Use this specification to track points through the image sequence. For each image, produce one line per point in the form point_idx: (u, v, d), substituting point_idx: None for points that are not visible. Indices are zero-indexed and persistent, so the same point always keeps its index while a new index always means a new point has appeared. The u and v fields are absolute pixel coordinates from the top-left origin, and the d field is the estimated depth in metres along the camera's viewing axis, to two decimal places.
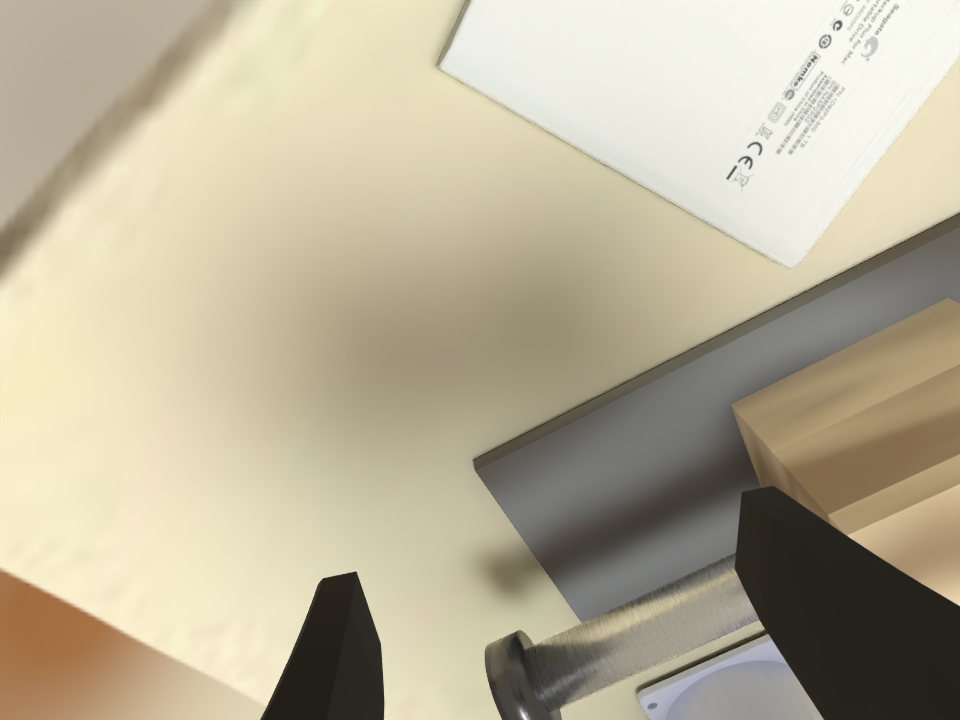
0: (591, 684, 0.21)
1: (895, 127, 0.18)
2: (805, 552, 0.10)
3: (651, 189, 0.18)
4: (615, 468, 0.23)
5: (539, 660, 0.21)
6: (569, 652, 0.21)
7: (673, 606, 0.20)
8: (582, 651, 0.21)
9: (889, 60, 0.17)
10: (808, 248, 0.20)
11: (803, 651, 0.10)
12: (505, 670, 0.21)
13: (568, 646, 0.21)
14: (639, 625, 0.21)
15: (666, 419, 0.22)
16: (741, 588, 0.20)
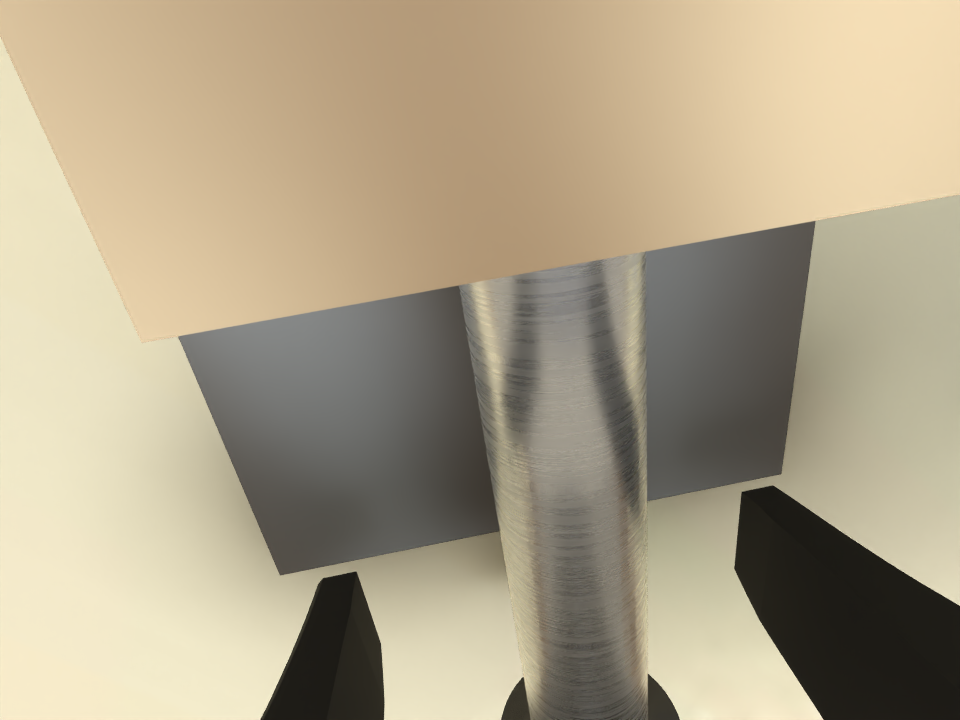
0: None
1: None
2: (805, 552, 0.10)
3: None
4: (356, 395, 0.12)
5: None
6: (532, 708, 0.11)
7: (508, 557, 0.09)
8: (533, 702, 0.11)
9: None
10: None
11: (802, 651, 0.10)
12: None
13: (527, 696, 0.11)
14: (520, 619, 0.10)
15: None
16: (505, 448, 0.08)
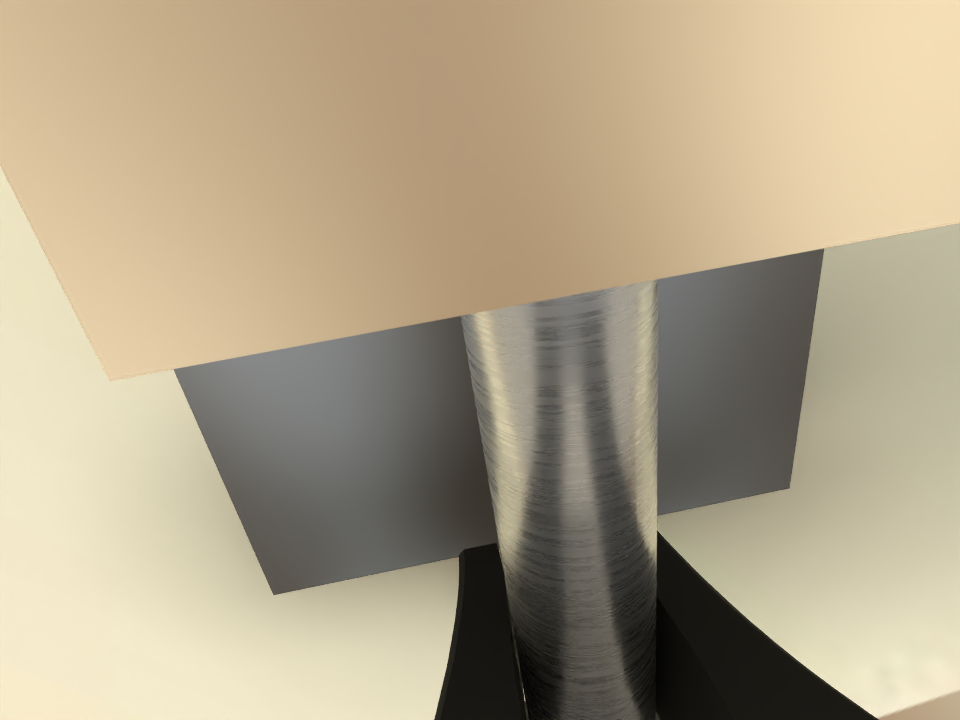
0: None
1: None
2: None
3: None
4: (352, 410, 0.12)
5: None
6: None
7: (510, 587, 0.09)
8: None
9: None
10: None
11: (656, 684, 0.10)
12: None
13: None
14: (522, 651, 0.09)
15: None
16: (508, 476, 0.07)
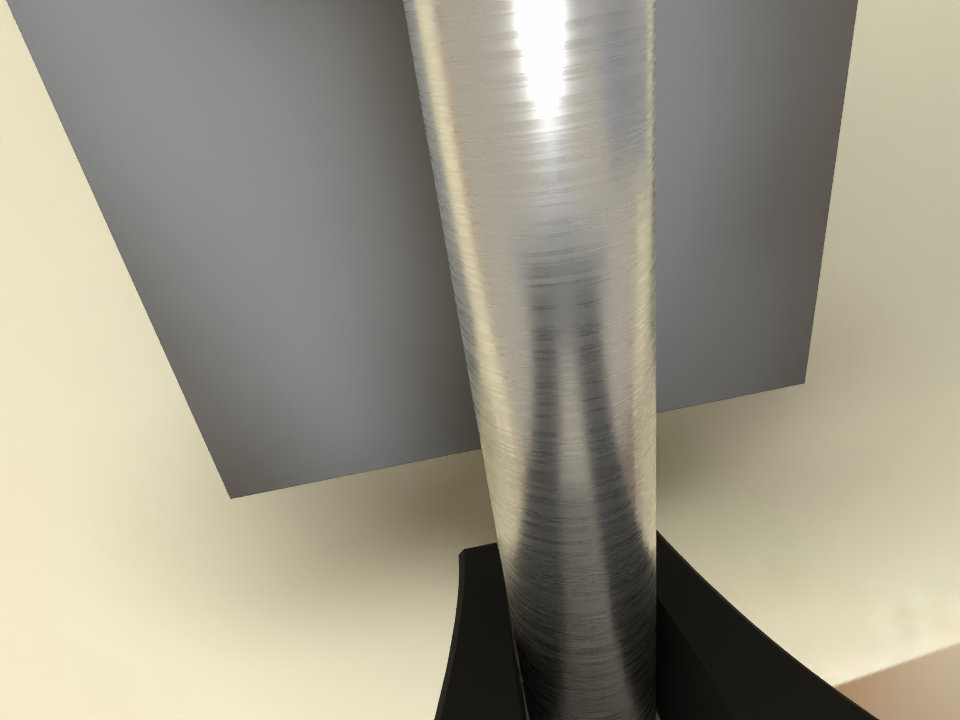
0: None
1: None
2: None
3: None
4: (310, 270, 0.11)
5: None
6: (532, 717, 0.10)
7: (504, 554, 0.08)
8: (533, 711, 0.10)
9: None
10: None
11: (656, 684, 0.10)
12: None
13: (527, 705, 0.10)
14: (517, 621, 0.09)
15: (198, 133, 0.09)
16: (499, 432, 0.07)
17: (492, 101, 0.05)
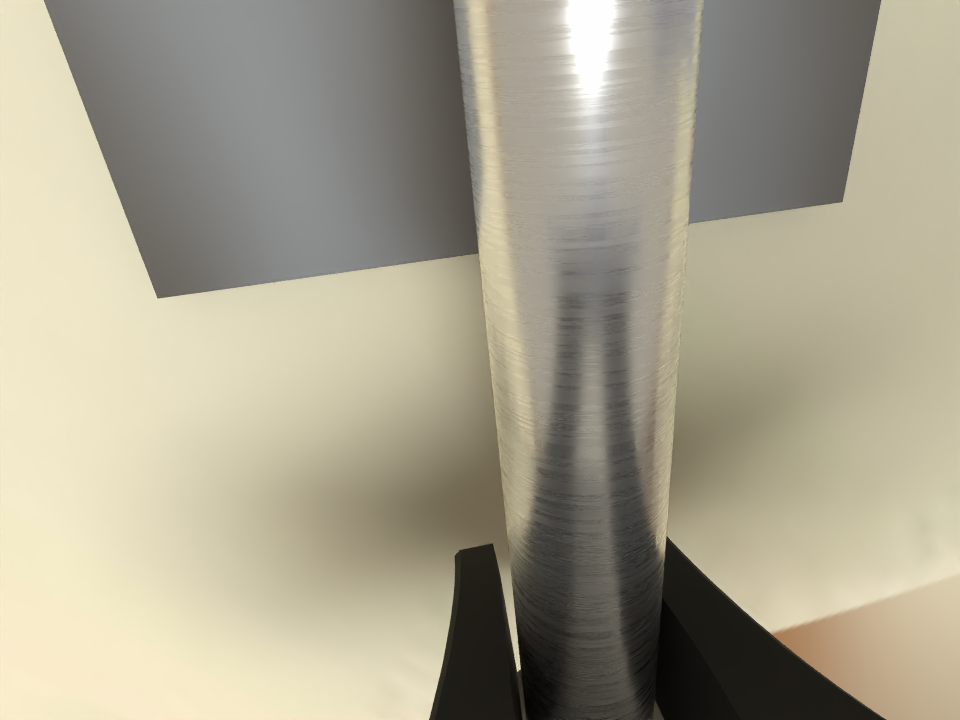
0: None
1: None
2: None
3: None
4: None
5: None
6: (529, 705, 0.10)
7: (513, 534, 0.08)
8: (532, 699, 0.10)
9: None
10: None
11: (659, 683, 0.10)
12: None
13: (524, 693, 0.10)
14: (522, 605, 0.09)
15: None
16: (519, 404, 0.07)
17: (539, 52, 0.05)
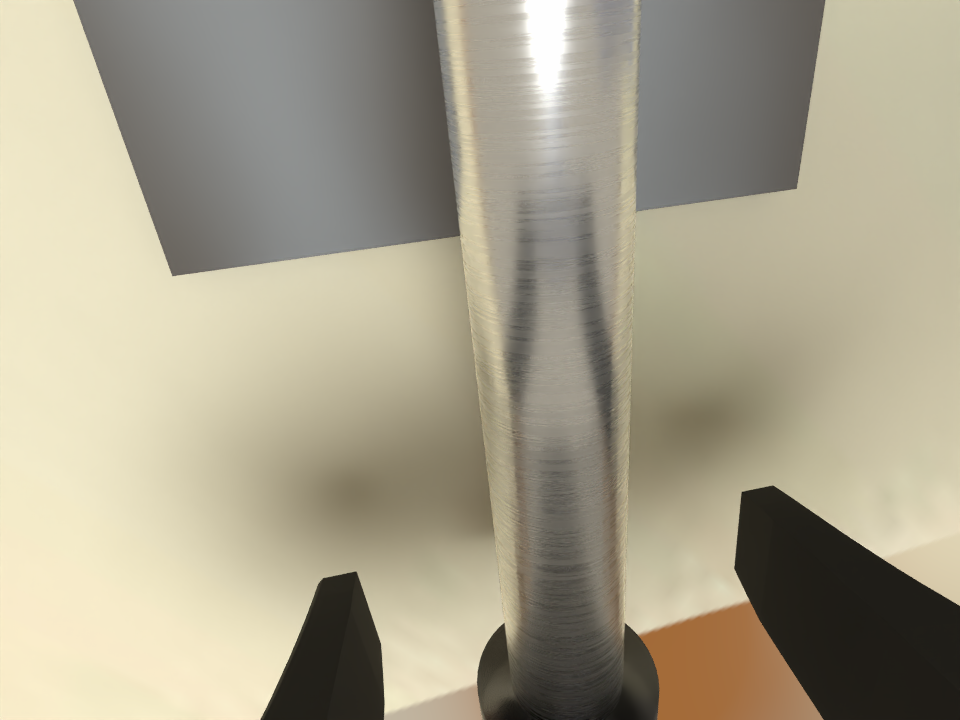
0: (569, 668, 0.10)
1: None
2: (805, 552, 0.10)
3: None
4: None
5: (511, 673, 0.12)
6: (510, 643, 0.11)
7: (493, 480, 0.09)
8: (512, 636, 0.11)
9: None
10: None
11: (802, 651, 0.10)
12: None
13: (506, 634, 0.11)
14: (502, 546, 0.10)
15: None
16: (494, 358, 0.08)
17: (503, 56, 0.06)
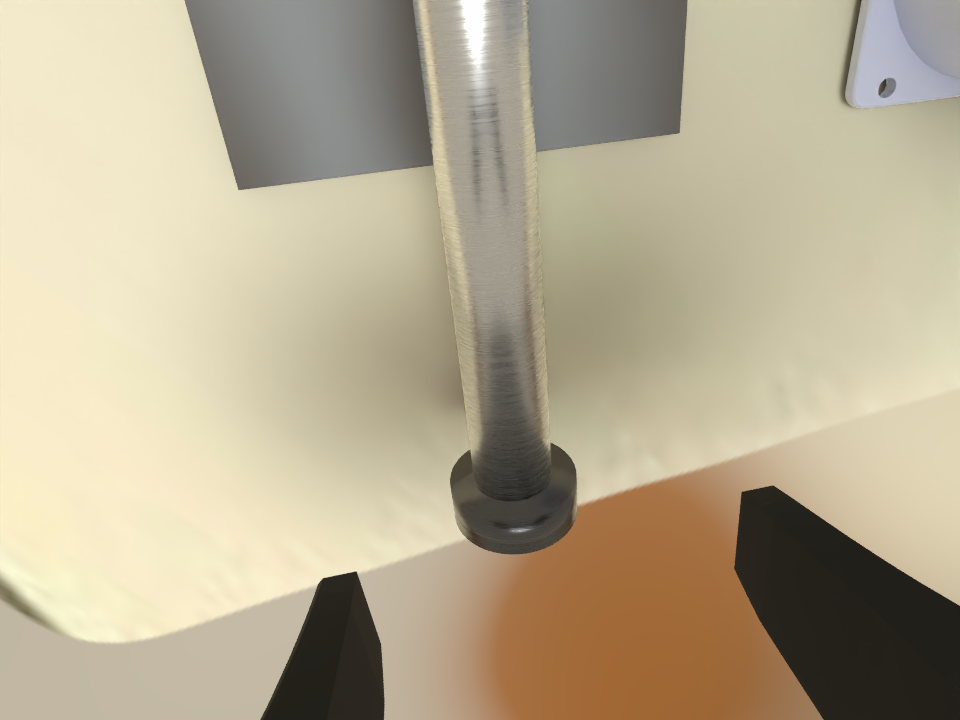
0: (508, 446, 0.15)
1: None
2: (805, 552, 0.10)
3: None
4: None
5: (473, 468, 0.17)
6: (471, 439, 0.16)
7: (454, 307, 0.14)
8: (471, 430, 0.16)
9: None
10: None
11: (802, 651, 0.10)
12: (455, 507, 0.17)
13: (469, 434, 0.16)
14: (461, 357, 0.15)
15: None
16: (451, 216, 0.13)
17: (448, 29, 0.11)
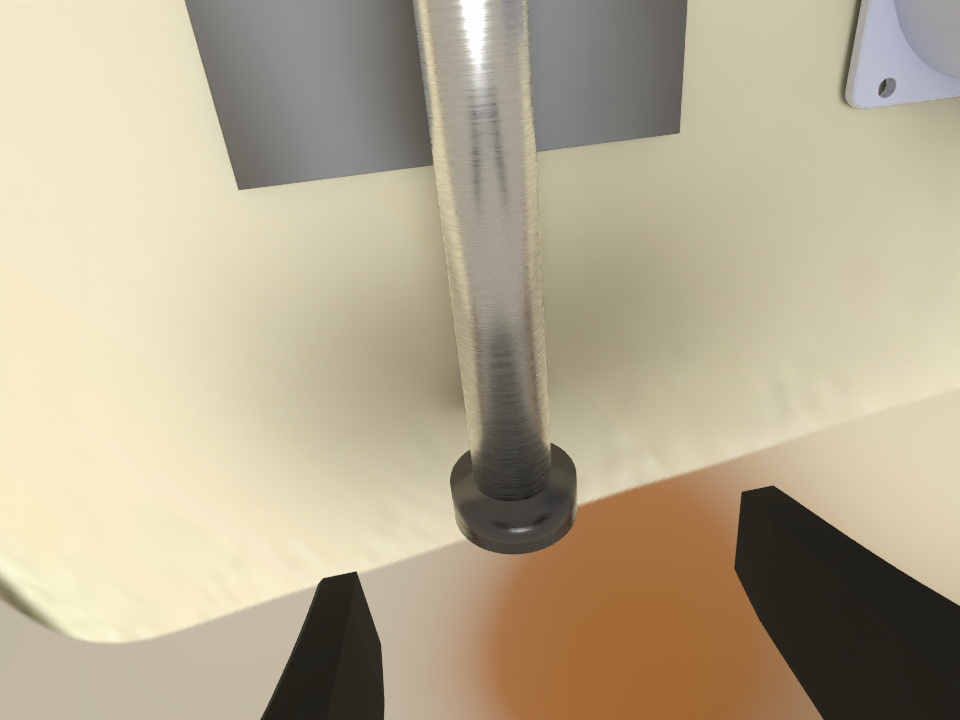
0: (508, 446, 0.15)
1: None
2: (805, 552, 0.10)
3: None
4: None
5: (473, 468, 0.17)
6: (471, 439, 0.16)
7: (454, 307, 0.14)
8: (471, 430, 0.16)
9: None
10: None
11: (802, 651, 0.10)
12: (455, 507, 0.17)
13: (469, 434, 0.16)
14: (461, 357, 0.15)
15: None
16: (451, 216, 0.13)
17: (448, 29, 0.11)
